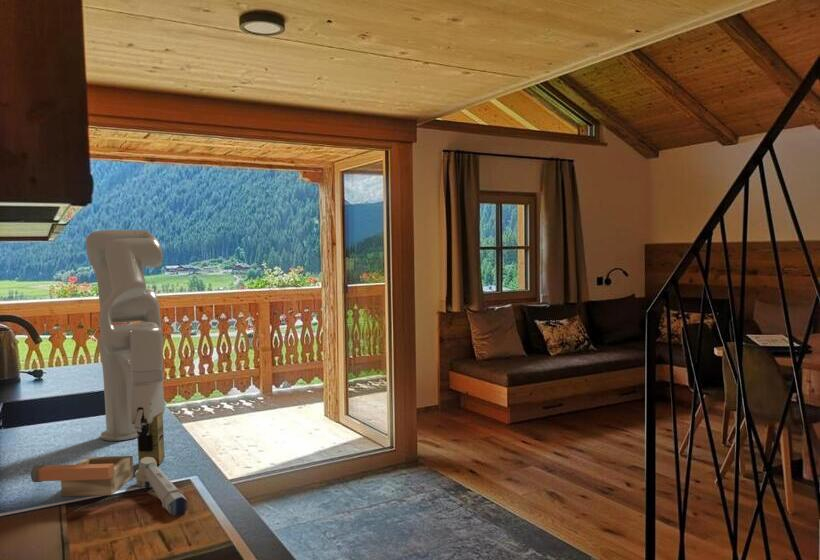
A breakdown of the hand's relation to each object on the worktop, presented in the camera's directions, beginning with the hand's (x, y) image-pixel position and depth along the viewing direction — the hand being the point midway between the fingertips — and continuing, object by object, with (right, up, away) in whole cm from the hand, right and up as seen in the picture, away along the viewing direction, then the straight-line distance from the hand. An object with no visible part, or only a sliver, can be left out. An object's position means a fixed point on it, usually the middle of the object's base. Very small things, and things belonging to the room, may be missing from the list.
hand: (151, 446), depth 157 cm
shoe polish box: (0, -4, 0) cm, 4 cm away
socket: (-6, -5, -14) cm, 16 cm away
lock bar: (-7, -1, -23) cm, 24 cm away
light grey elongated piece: (+11, -6, -21) cm, 25 cm away
